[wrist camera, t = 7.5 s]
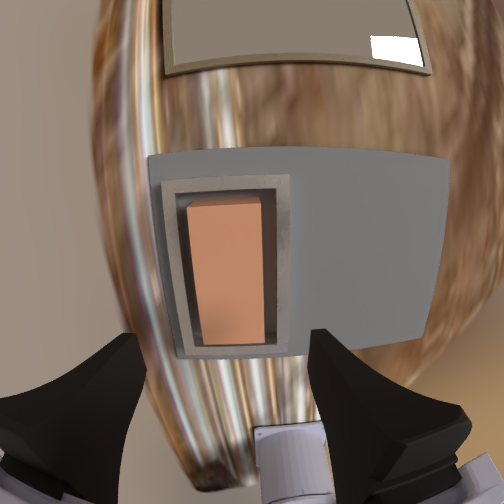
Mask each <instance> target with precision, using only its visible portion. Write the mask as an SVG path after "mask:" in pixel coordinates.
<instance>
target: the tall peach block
mask: <svg viewBox="0 0 504 504" xmlns="http://www.w3.org/2000/svg"><path fill="white" fill-rule="evenodd" d="M187 216H188V226H189V236H190V246H191V255H192V264H193V272H194V280H195V288H196V295H197V302H198V309H199V316H200V323H201V330H202V336H203V342H204V345H213V344H249V343H265V335H264V293H263V256H262V224H261V202H260V200H259V197H258V196H243V197H224V198H207V199H196V200H194V201H193V202H192V203H191V204H190V205H189V206H188V207H187Z"/></svg>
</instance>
